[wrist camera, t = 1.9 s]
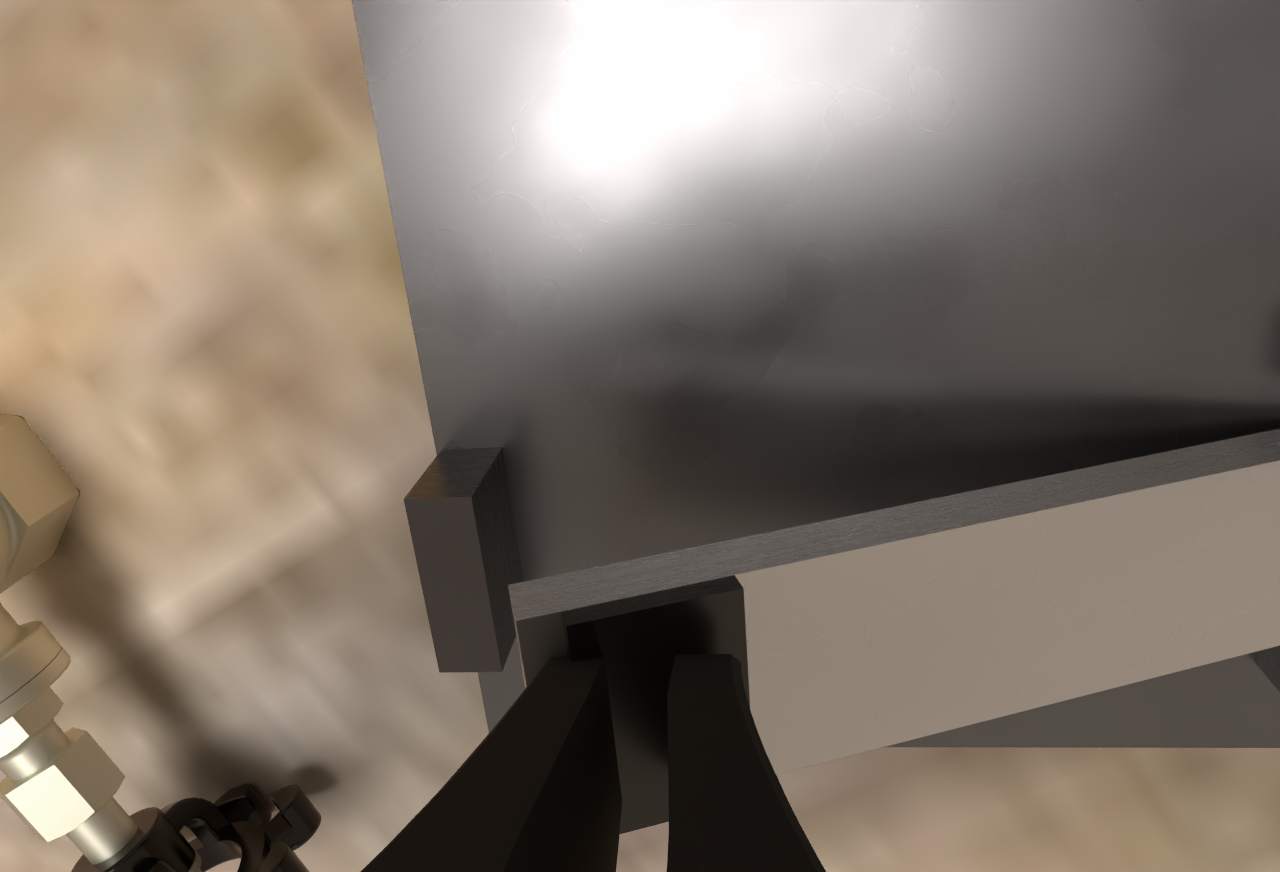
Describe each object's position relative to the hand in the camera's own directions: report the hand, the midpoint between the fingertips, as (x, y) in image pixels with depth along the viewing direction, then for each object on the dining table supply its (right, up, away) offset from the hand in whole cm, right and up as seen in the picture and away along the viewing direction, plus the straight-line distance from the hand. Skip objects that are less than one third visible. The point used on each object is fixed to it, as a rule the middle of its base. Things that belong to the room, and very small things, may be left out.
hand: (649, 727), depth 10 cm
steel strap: (+4, +1, +2) cm, 5 cm away
